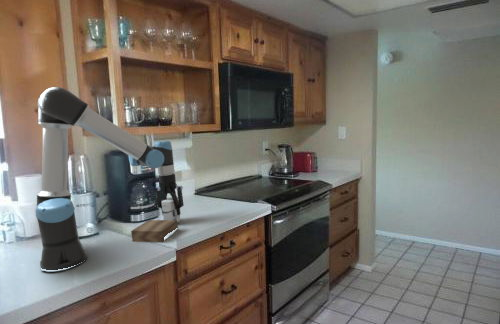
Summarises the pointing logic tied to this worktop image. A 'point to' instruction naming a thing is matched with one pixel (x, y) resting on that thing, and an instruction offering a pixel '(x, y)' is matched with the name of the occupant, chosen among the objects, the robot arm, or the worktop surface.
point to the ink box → (168, 209)
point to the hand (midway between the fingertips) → (172, 221)
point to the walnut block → (153, 230)
